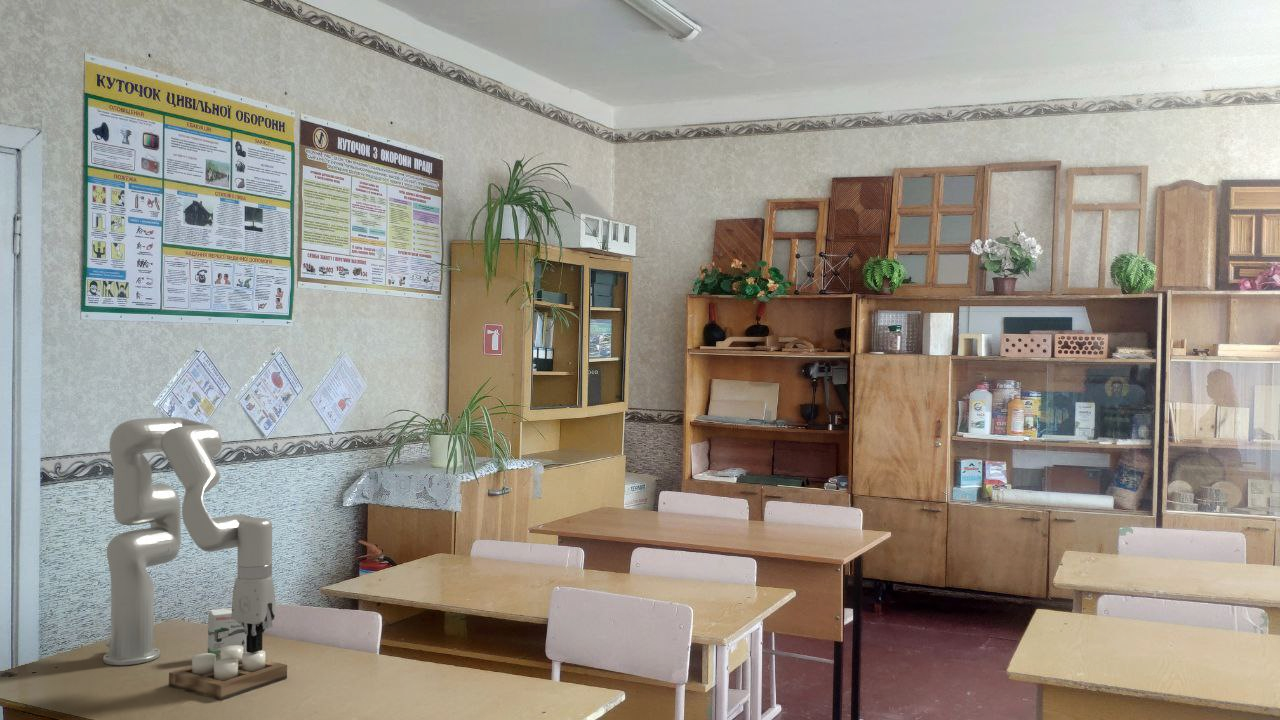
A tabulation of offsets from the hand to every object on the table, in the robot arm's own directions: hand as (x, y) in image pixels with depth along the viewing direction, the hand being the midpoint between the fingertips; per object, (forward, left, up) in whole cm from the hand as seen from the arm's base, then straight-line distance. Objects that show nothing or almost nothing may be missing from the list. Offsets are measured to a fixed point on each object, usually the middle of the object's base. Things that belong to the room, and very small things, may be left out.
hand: (254, 651), depth 236 cm
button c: (0, -8, -4) cm, 9 cm away
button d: (0, 0, -4) cm, 4 cm away
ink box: (-21, +9, -7) cm, 24 cm away
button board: (-4, -4, -7) cm, 9 cm away
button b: (-8, 0, -4) cm, 9 cm away
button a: (-8, -8, -4) cm, 12 cm away
